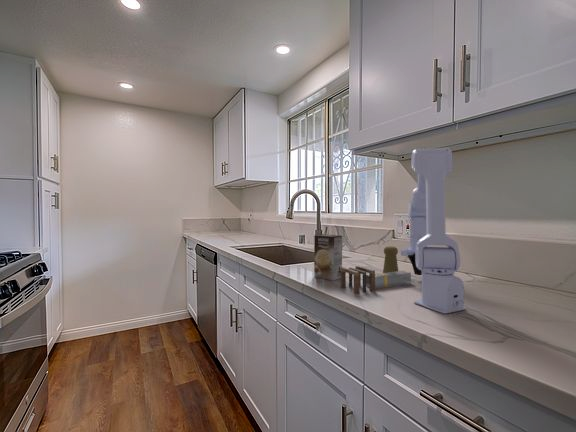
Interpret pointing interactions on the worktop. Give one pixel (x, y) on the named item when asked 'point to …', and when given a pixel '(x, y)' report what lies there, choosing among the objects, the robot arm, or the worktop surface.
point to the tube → (390, 279)
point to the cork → (390, 259)
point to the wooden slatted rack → (357, 278)
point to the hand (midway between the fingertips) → (418, 274)
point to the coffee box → (327, 256)
